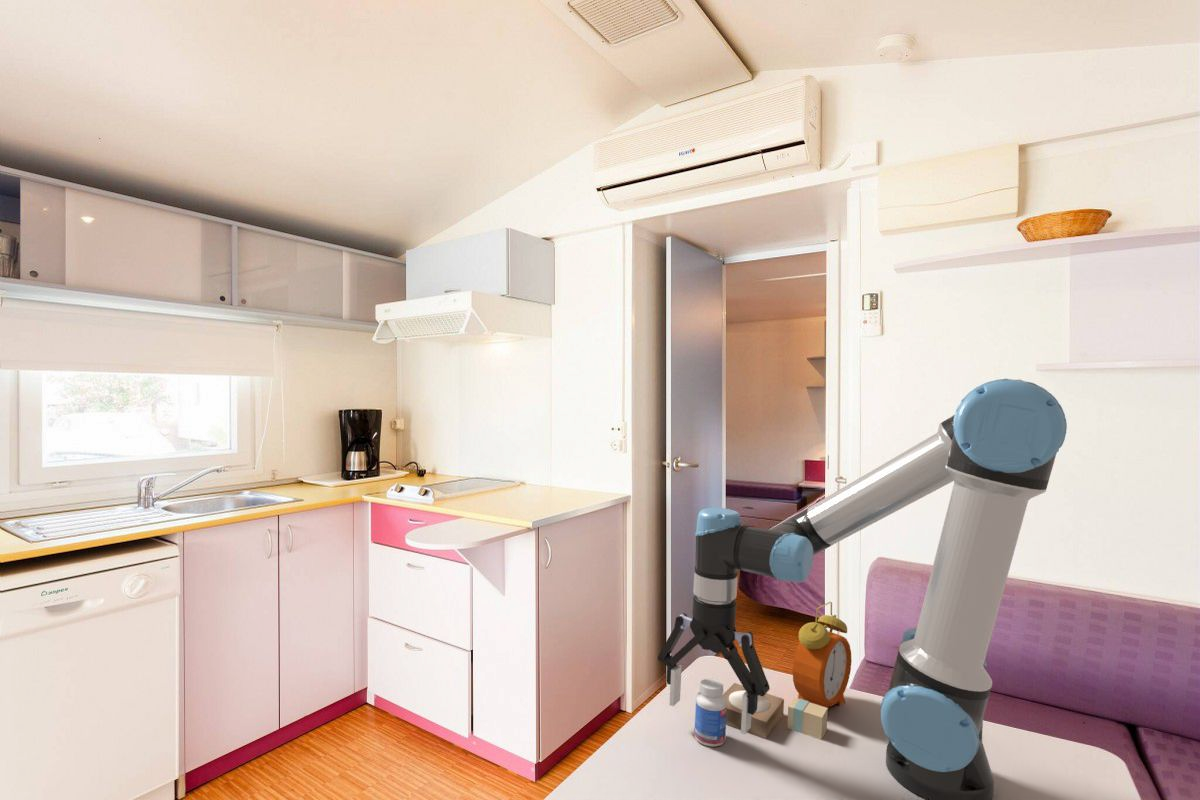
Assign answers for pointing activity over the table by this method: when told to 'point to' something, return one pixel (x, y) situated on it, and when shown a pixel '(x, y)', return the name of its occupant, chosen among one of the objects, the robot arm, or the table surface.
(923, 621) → the robot arm
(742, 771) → the table surface
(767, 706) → the podium
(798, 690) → the alarm clock
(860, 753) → the table surface
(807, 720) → the carton
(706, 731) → the pill bottle
